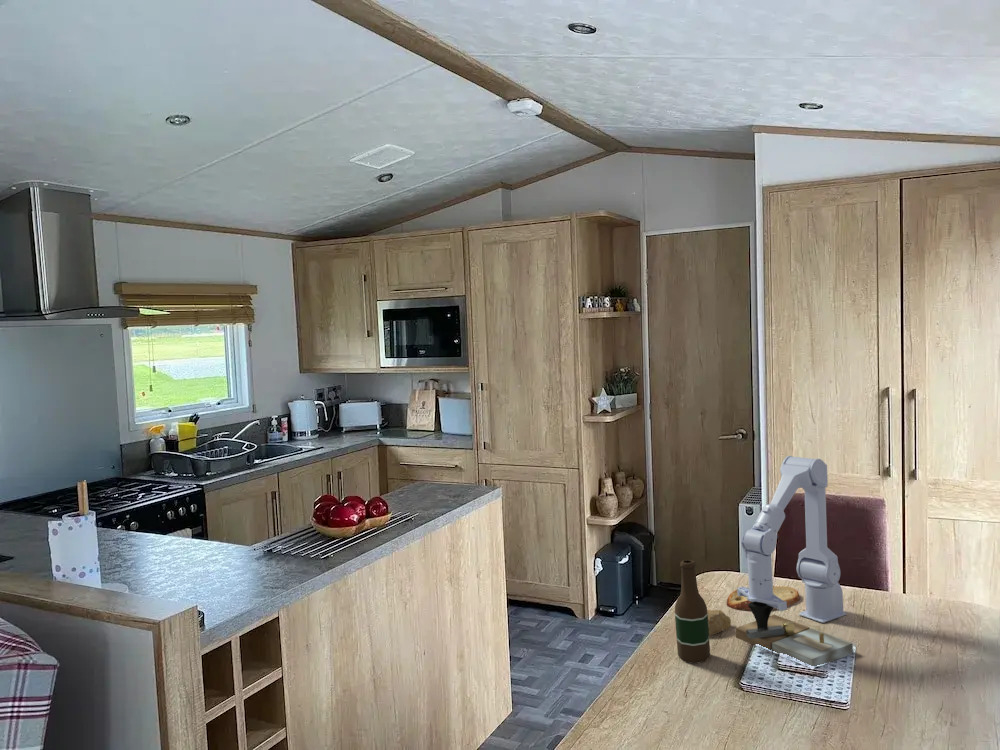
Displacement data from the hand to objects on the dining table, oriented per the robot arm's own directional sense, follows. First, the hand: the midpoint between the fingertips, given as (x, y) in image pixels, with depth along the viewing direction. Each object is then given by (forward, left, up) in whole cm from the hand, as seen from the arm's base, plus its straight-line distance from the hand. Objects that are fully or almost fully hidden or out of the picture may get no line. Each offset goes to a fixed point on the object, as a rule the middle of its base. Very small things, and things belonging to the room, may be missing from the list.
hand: (762, 630), depth 202 cm
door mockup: (-5, +4, -4) cm, 7 cm away
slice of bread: (-22, -21, -4) cm, 30 cm away
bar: (-1, +2, -1) cm, 2 cm away
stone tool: (+3, -15, -4) cm, 16 cm away
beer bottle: (+18, -5, -4) cm, 19 cm away
